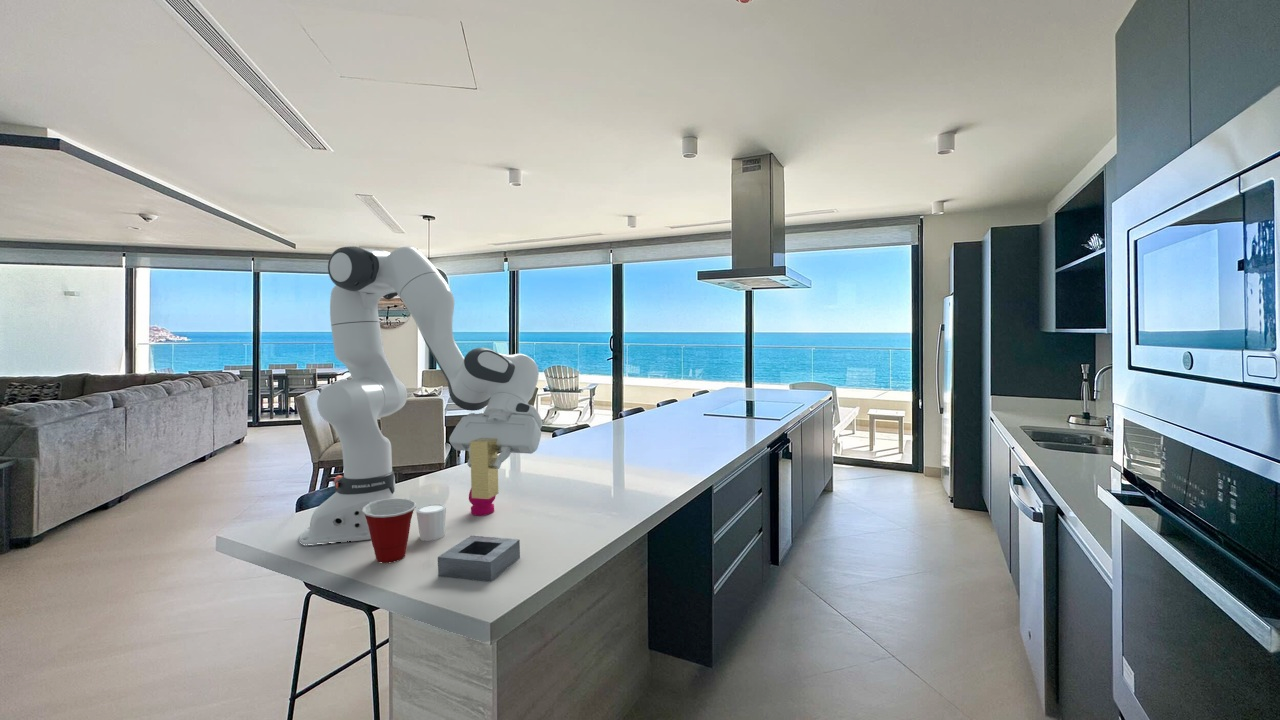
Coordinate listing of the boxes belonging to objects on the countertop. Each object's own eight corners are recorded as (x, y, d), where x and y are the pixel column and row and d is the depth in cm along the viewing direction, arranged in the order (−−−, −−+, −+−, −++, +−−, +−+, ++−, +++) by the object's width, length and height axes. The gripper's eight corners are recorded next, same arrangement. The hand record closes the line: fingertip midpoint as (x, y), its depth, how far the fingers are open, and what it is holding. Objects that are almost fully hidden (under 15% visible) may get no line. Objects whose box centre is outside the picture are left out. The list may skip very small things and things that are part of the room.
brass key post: (471, 497, 110) (470, 441, 109) (481, 492, 114) (480, 437, 113) (488, 499, 109) (487, 442, 108) (498, 493, 113) (497, 438, 112)
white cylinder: (411, 538, 127) (410, 509, 127) (436, 529, 133) (435, 502, 133) (428, 543, 124) (427, 514, 123) (453, 534, 129) (452, 506, 129)
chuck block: (438, 576, 106) (437, 557, 106) (471, 553, 117) (471, 535, 117) (491, 582, 103) (490, 562, 103) (520, 557, 114) (519, 539, 114)
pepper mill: (489, 506, 151) (487, 437, 150) (500, 512, 146) (498, 441, 145) (465, 511, 147) (462, 441, 146) (475, 518, 141) (472, 444, 140)
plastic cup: (383, 573, 108) (380, 515, 108) (353, 562, 114) (351, 507, 113) (428, 554, 117) (426, 501, 117) (399, 545, 123) (397, 494, 123)
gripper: (458, 405, 120) (433, 456, 111) (540, 406, 115) (521, 460, 106) (470, 421, 124) (446, 472, 115) (549, 423, 119) (531, 476, 110)
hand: (482, 466), depth 110 cm, fingers closed on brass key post, 4 cm apart
